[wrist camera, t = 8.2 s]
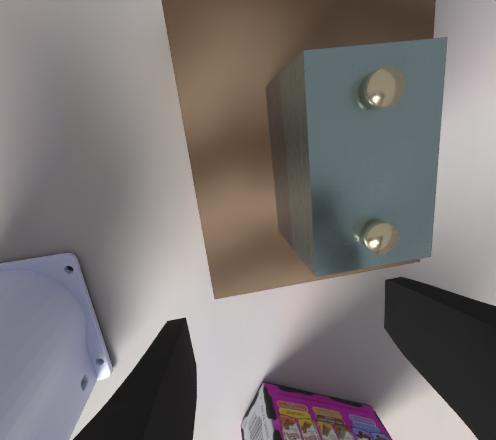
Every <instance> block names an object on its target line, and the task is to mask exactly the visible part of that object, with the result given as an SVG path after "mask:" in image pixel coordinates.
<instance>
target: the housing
mask: <svg viewBox="0 0 496 440" xmlns="http://www.w3.org/2000/svg"><path fill="white" fill-rule="evenodd" d="M446 49H447V37H445V38H434V39H423V40H412V41H401V42H390V43H379V44H368V45H357V46H346V47H336V48H325V49H314V50H303V51H302V52H301V53H300V54H299V55H298V56H297V57H296V58H295V59H294V60H293V61H292V62H291V63H290V64H289V65H288V66H287V67H286V68H285V69H284V70H283V71H282V72H281V73H280V74H279V75H278V76H277V77H276V78H275V79H274V80H273V81H272V82H271V83H270V84H269V85H268V86H267V87H266V88H265V89H266V100H267V111H268V122H269V133H270V144H271V155H272V166H273V177H274V187H275V198H276V209H277V220H278V231H279V233H280V234H281V235H282V236H283V238H284V239H285V240H286V241H287V242H288V244H289V245H290V246H291V247H292V249H293V250H294V251H295V252H296V254H297V255H298V256H299V257H300V259H301V260H302V261H303V262H304V263H305V265H306V266H307V267H308V268H309V270H310V271H311V272H312V273H313V275H314V276H315V277H320V276H325V275H331V274H336V273H342V272H347V271H353V270H358V269H364V268H370V267H375V266H381V265H386V264H392V263H397V262H403V261H408V260H414V259H420V258H425V257H431V248H432V235H433V222H434V208H435V195H436V182H437V169H438V155H439V142H440V129H441V116H442V102H443V89H444V76H445V62H446Z"/></svg>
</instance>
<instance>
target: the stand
mask: <svg viewBox="0 0 496 440" xmlns="http://www.w3.org/2000/svg"><path fill="white" fill-rule="evenodd" d="M435 1H436V0H162V6H163V11H164V17H165V22H166V28H167V34H168V39H169V45H170V51H171V56H172V62H173V68H174V73H175V79H176V84H177V90H178V96H179V101H180V107H181V113H182V118H183V124H184V130H185V135H186V141H187V147H188V152H189V158H190V163H191V169H192V175H193V180H194V186H195V192H196V197H197V203H198V209H199V214H200V220H201V225H202V231H203V237H204V242H205V248H206V254H207V259H208V265H209V271H210V276H211V282H212V287H213V293H214V299H219V298H224V297H230V296H235V295H241V294H246V293H252V292H257V291H262V290H268V289H273V288H279V287H284V286H290V285H295V284H300V283H306V282H311V281H317V280H322V279H328V278H333V277H338V276H344V275H349V274H355V273H360V272H366V271H371V270H376V269H382V268H387V267H393V266H398V265H404V264H409V263H414V262H420V259H414V260H408V261H403V262H397V263H392V264H386V265H381V266H375V267H370V268H364V269H358V270H353V271H347V272H342V273H336V274H331V275H325V276H320V277H315V276H314V275H313V273H312V272H311V271H310V270H309V268H308V267H307V266H306V265H305V263H304V262H303V261H302V260H301V259H300V257H299V256H298V255H297V254H296V252H295V251H294V250H293V249H292V247H291V246H290V245H289V244H288V242H287V241H286V240H285V239H284V238H283V236H282V235H281V234H280V233H279V231H278V220H277V209H276V198H275V187H274V177H273V166H272V155H271V144H270V133H269V122H268V111H267V100H266V89H265V88H266V87H267V86H268V85H269V84H270V83H271V82H272V81H273V80H274V79H275V78H276V77H277V76H278V75H279V74H280V73H281V72H282V71H283V70H284V69H285V68H286V67H287V66H288V65H289V64H290V63H291V62H292V61H293V60H294V59H295V58H296V57H297V56H298V55H299V54H300V53H301V52H302V51H303V50H314V49H325V48H336V47H346V46H357V45H368V44H379V43H390V42H401V41H412V40H423V39H433V34H434V18H435Z"/></svg>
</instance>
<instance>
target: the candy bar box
mask: <svg viewBox="0 0 496 440" xmlns="http://www.w3.org/2000/svg"><path fill="white" fill-rule="evenodd" d="M241 432H242V440H392V438H391V437H390V435H389V433H388V432H387V430H386V428H385V427H384V425H383V424H382V422H381V421H380V419H379V417H378V416H377V414H376V412H375V411H374V409H373V407H371V406H368V405H364V404H359V403H355V402H350V401H346V400H341V399H337V398H332V397H327V396H322V395H318V394H313V393H309V392H304V391H299V390H294V389H290V388H285V387H281V386H276V385H272V384H268V383H262V385H261V387H260V388H259V390H258V392H257V394H256V397H255V399H254V401H253V402H252V404H251V406H250V408H249V410H248V411H247V413H246V415H245V417H244V419H243V421H242V424H241Z"/></svg>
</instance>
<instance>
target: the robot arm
mask: <svg viewBox="0 0 496 440" xmlns="http://www.w3.org/2000/svg"><path fill="white" fill-rule="evenodd" d="M67 266H71V267H72V268H73V271H70V270H68V268H67ZM384 328H385V329H386V331H387V332H388V334H389V335H390V337H391V338H392V340H393V341H394V343H395V344H396V345H397V347H398V348H399V349H400V351H401V352H402V354H403V355H404V356H405V357H406V358H407V359H408V360H409V361H410V363H411V364H412V365H413V366H414V367H415V368H416V369H417V370H418V372H419V373H420V374H421V375H422V376H423V377H424V378H425V379H426V380H427V381H428V383H429V384H430V385H431V386H432V387H433V388H434V389H435V390H436V391H437V392H438V394H439V395H440V396H441V397H442V398H443V399H444V400H445V401H446V402H447V403H448V405H449V406H450V407H451V408H452V409H453V410H454V411H455V412H456V413H457V414H458V416H459V417H460V418H461V419H462V420H463V421H464V423H465V424H466V425H467V426H468V427H469V428H470V430H471V431H472V432H473V433H474V435H475V436H476V437H477V439H478V440H496V306H493V305H490V304H486V303H483V302H480V301H477V300H474V299H470V298H467V297H464V296H461V295H458V294H455V293H452V292H449V291H446V290H443V289H440V288H437V287H434V286H431V285H428V284H425V283H421V282H418V281H415V280H411V279H408V278H403V277H398V278H393V279H388V280H385V318H384ZM99 359H103V361H100V360H99ZM112 371H113V367H112V364H111V361H110V358H109V355H108V352H107V349H106V346H105V343H104V339H103V336H102V333H101V330H100V327H99V324H98V321H97V318H96V315H95V312H94V308H93V305H92V302H91V299H90V296H89V293H88V290H87V287H86V284H85V281H84V277H83V274H82V271H81V268H80V265H79V262H78V259H77V257H76V256H75V255H74V254H72V253H62V254H55V255H49V256H43V257H36V258H30V259H24V260H18V261H11V262H5V263H0V440H69V438H70V436H71V434H72V432H73V430H74V428H75V426H76V424H77V421H78V419H79V417H80V415H81V413H82V411H83V409H84V407H85V404H86V402H87V400H88V398H89V396H90V394H91V392H92V389H93V387H94V385H95V383H96V381H97V380H101V379H106V378H109V377H110V376H111V374H112ZM196 400H197V371H196V362H195V358H194V353H193V348H192V344H191V339H190V334H189V330H188V325H187V321H186V318H181V319H176V320H171V321H167V323H166V324H165V325H164V327H163V328H162V329H161V331H160V332H159V334H158V335H157V337H156V338H155V340H154V341H153V343H152V344H151V345H150V347H149V348H148V350H147V351H146V353H145V354H144V355H143V357H142V358H141V359H140V361H139V362H138V364H137V365H136V366H135V368H134V369H133V370H132V372H131V373H130V374H129V376H128V377H127V378H126V379H125V381H124V382H123V383H122V384H121V386H120V387H119V388H118V389H117V391H116V392H115V393H114V394H113V396H112V397H111V398H110V399H109V401H108V402H107V403H106V404H105V405H104V406H103V407H102V409H101V410H100V411H99V412H98V413H97V414H96V415H95V416H94V418H93V419H92V420H91V421H90V422H89V423H88V424H87V425H86V426H85V427H84V428H83V429H82V430H81V432H80V433H79V434H78V435H77V436H76V437H75V438H74V439H73V440H193V431H194V421H195V411H196Z"/></svg>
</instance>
